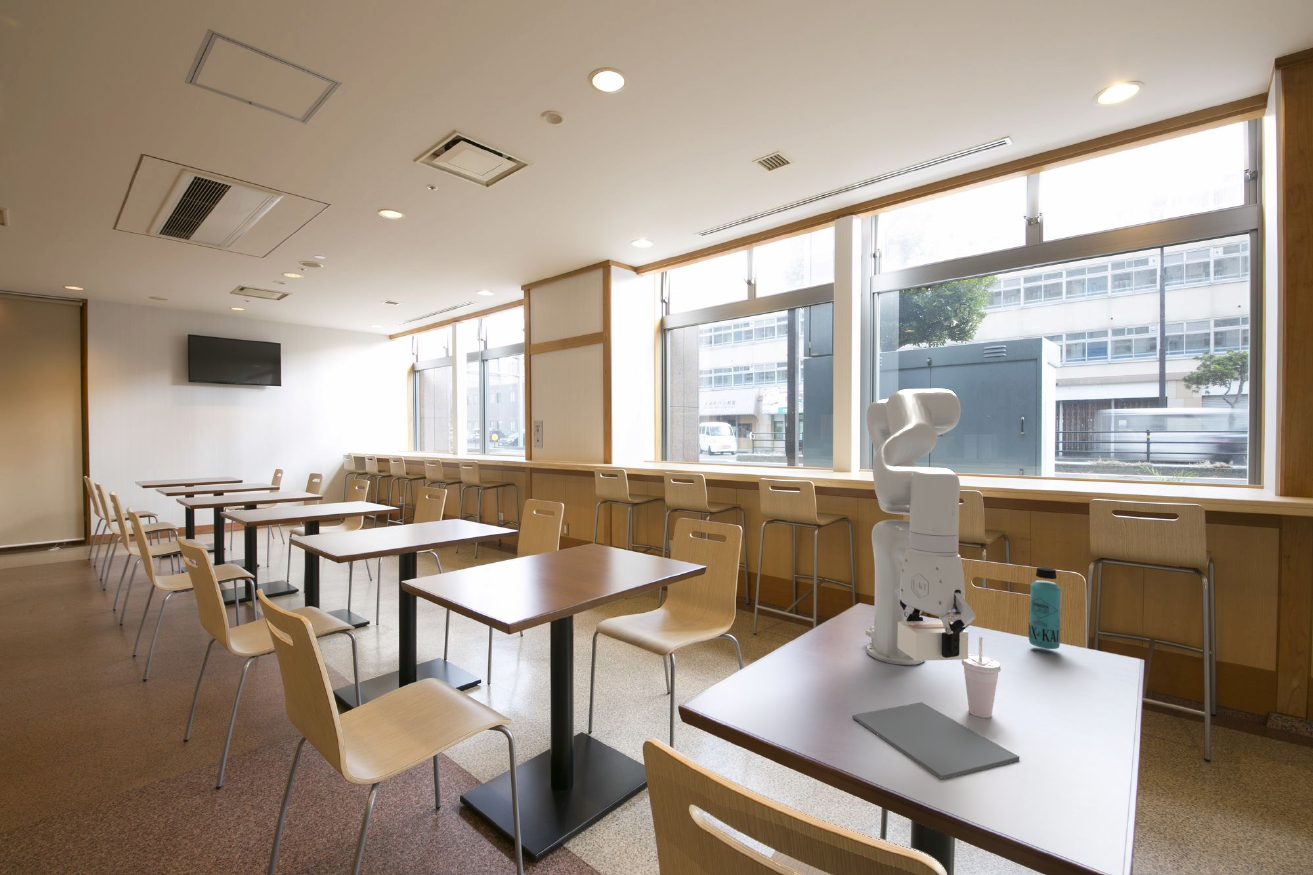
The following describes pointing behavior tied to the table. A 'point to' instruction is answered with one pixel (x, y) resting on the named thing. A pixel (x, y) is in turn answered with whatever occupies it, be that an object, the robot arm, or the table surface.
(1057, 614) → the beverage bottle
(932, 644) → the card box
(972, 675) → the smoothie
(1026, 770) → the table surface
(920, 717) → the mat
